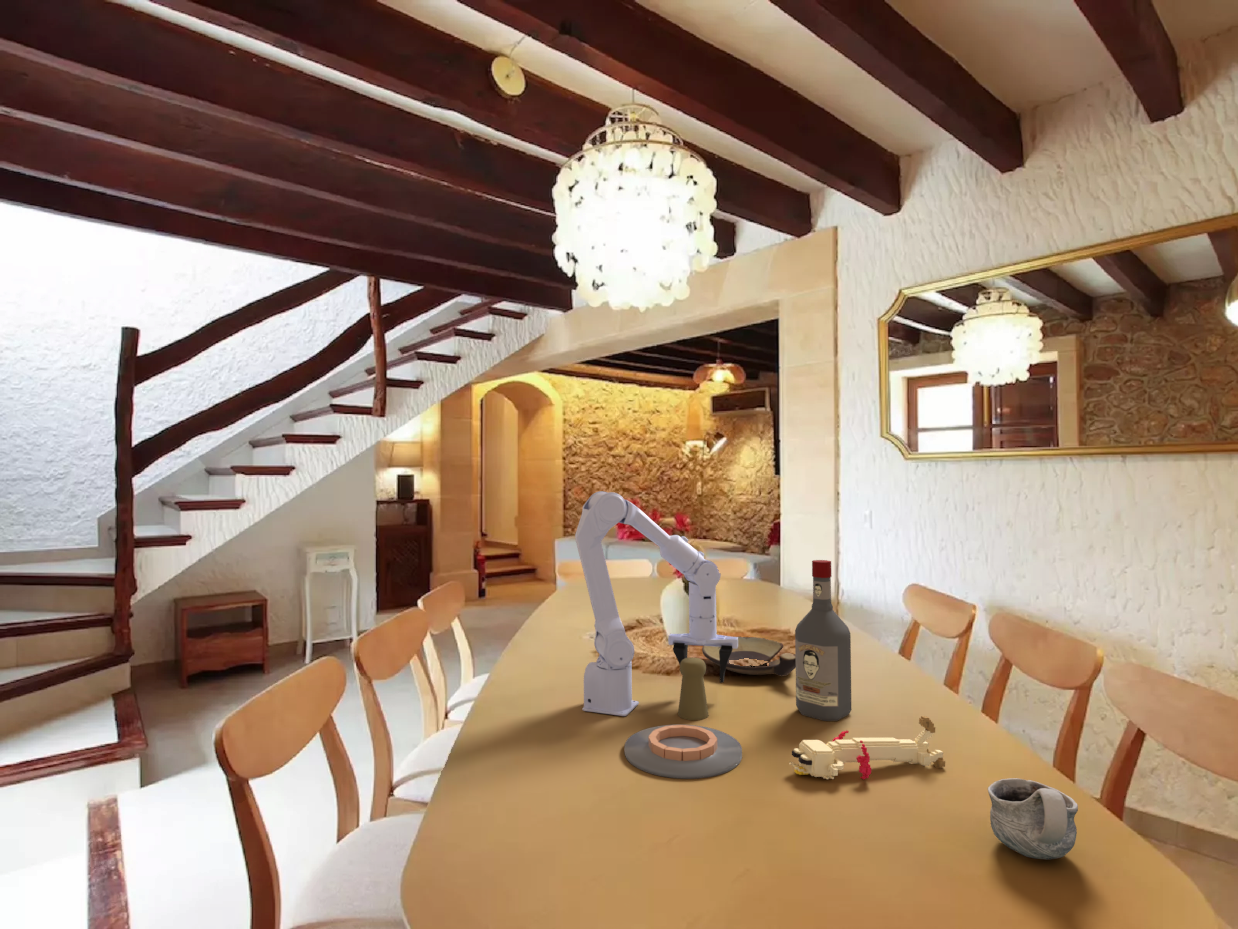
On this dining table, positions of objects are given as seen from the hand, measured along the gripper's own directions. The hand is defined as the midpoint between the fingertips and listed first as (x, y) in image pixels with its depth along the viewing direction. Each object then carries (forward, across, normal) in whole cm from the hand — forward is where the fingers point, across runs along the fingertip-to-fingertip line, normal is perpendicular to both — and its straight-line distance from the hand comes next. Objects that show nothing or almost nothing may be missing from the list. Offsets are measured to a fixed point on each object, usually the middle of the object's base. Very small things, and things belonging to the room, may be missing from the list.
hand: (703, 680), depth 142 cm
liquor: (+4, +24, -2) cm, 25 cm away
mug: (+4, +48, -48) cm, 68 cm away
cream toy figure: (+5, +30, -27) cm, 40 cm away
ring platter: (+4, 0, -28) cm, 28 cm away
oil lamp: (+4, +8, +22) cm, 24 cm away
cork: (+4, -1, -9) cm, 10 cm away
